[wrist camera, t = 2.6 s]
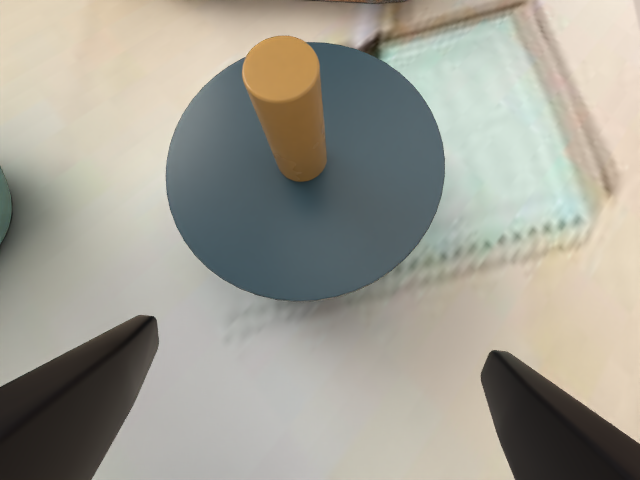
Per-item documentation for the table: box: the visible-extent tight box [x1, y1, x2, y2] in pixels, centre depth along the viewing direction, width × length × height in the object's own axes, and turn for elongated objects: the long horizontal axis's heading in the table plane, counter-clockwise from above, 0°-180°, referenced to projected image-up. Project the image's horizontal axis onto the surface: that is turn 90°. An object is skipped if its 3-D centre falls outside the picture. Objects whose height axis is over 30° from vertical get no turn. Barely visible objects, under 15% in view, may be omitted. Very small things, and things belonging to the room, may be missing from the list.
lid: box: [166, 36, 445, 302], centre depth 14 cm, size 13×13×7 cm
